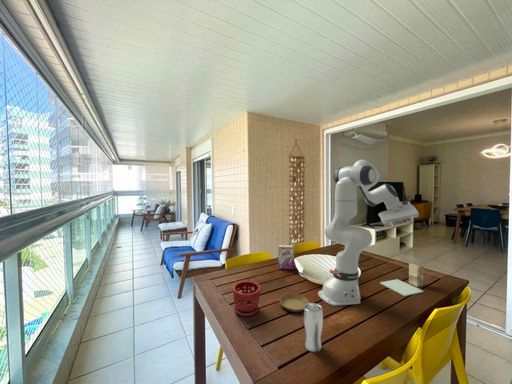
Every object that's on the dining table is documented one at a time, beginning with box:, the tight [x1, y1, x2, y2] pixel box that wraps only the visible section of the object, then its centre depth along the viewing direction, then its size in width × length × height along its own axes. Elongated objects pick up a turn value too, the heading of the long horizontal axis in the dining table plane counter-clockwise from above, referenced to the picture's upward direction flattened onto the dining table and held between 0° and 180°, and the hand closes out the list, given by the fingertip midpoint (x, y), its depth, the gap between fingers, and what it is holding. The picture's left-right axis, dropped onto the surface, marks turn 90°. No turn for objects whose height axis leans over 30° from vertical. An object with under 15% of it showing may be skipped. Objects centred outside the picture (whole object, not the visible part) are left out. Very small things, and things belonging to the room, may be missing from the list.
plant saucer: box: [279, 293, 310, 313], centre depth 110 cm, size 15×15×3 cm
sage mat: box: [379, 278, 424, 297], centre depth 127 cm, size 14×16×1 cm
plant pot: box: [232, 280, 261, 317], centre depth 105 cm, size 13×13×12 cm
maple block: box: [408, 262, 424, 288], centre depth 130 cm, size 5×5×12 cm
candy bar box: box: [278, 244, 295, 270], centre depth 157 cm, size 11×5×16 cm, turn 84°
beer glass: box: [303, 302, 324, 353], centre depth 82 cm, size 7×7×15 cm
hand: (403, 225), depth 130 cm, fingers open, 8 cm apart
